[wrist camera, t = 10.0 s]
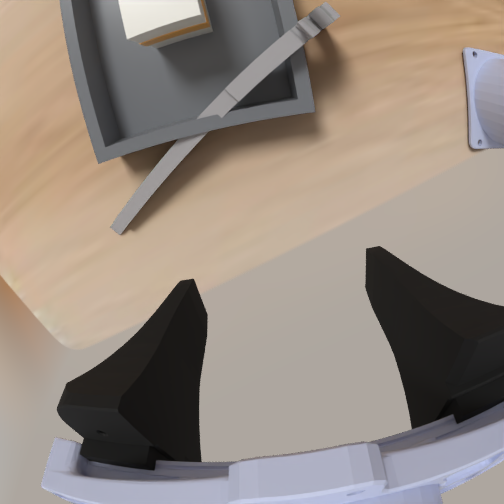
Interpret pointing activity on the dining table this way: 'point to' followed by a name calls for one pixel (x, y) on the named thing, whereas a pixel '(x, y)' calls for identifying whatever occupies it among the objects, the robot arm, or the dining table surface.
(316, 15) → the caliper
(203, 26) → the white block
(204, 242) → the dining table surface
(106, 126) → the tray
